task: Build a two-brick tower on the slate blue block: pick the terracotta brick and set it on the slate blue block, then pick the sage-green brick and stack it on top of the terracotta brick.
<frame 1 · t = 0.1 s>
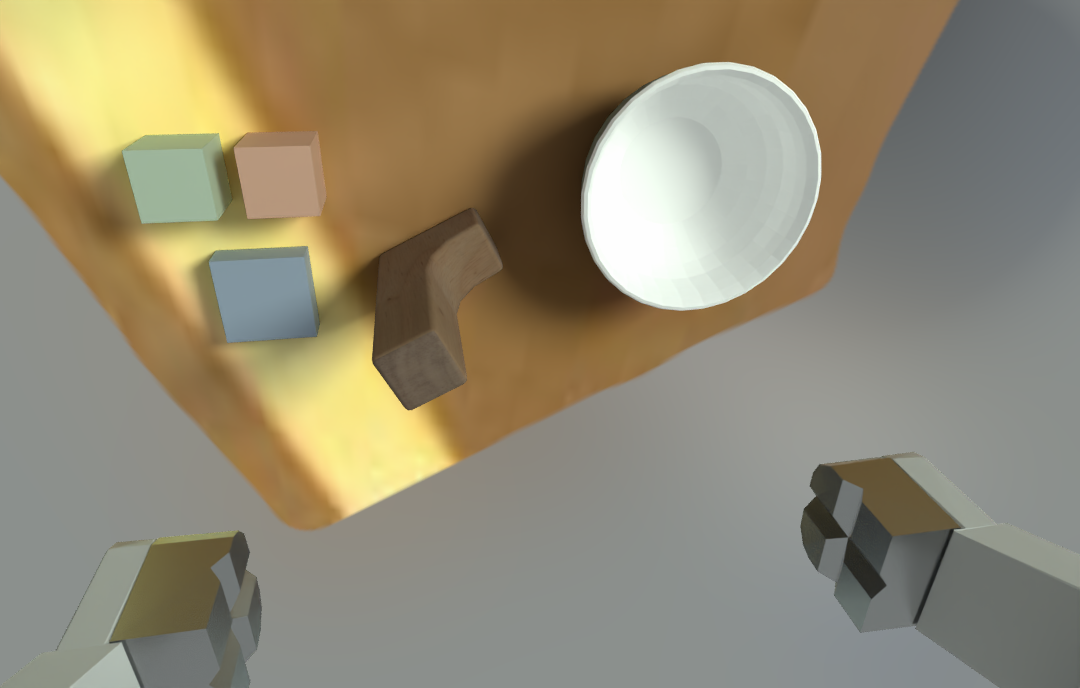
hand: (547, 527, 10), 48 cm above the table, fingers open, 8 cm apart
wooden block: (438, 251, 58), on the table
slate blue block: (269, 288, 57), on the table
terracotta brick: (288, 165, 53), on the table
sage brick: (190, 168, 51), on the table
bowl: (666, 169, 58), on the table
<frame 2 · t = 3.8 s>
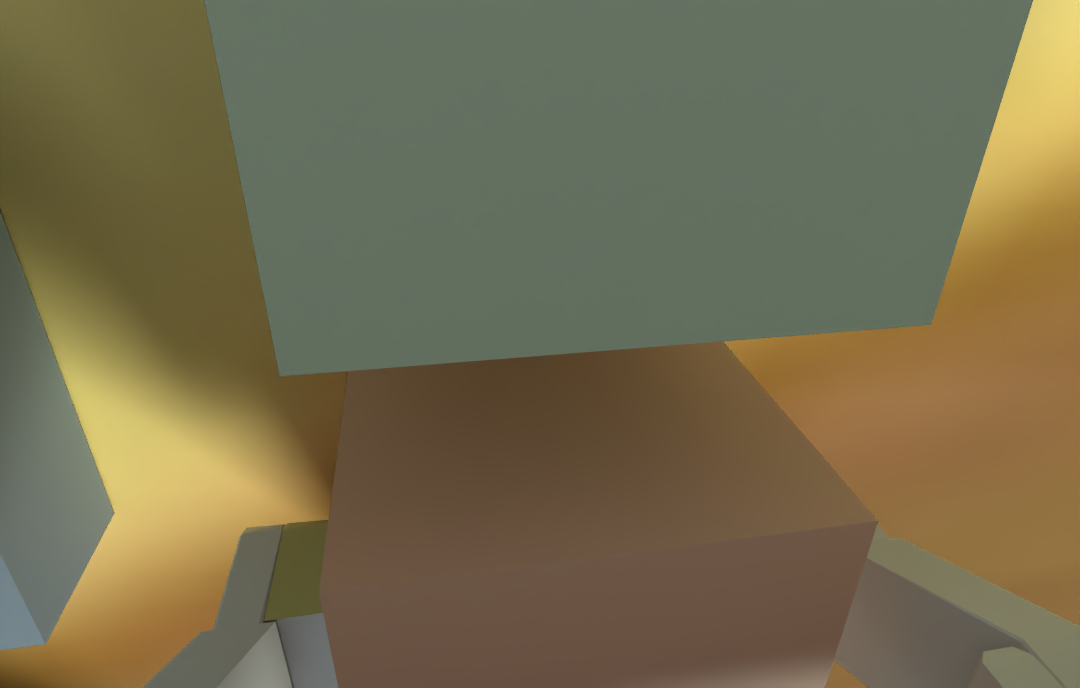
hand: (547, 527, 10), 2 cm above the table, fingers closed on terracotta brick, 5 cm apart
terracotta brick: (526, 443, 11), on the table, touching gripper
when the fingers open (5 cm above the table, at t = 8.5 s): terracotta brick stays where it is, resting on slate blue block.
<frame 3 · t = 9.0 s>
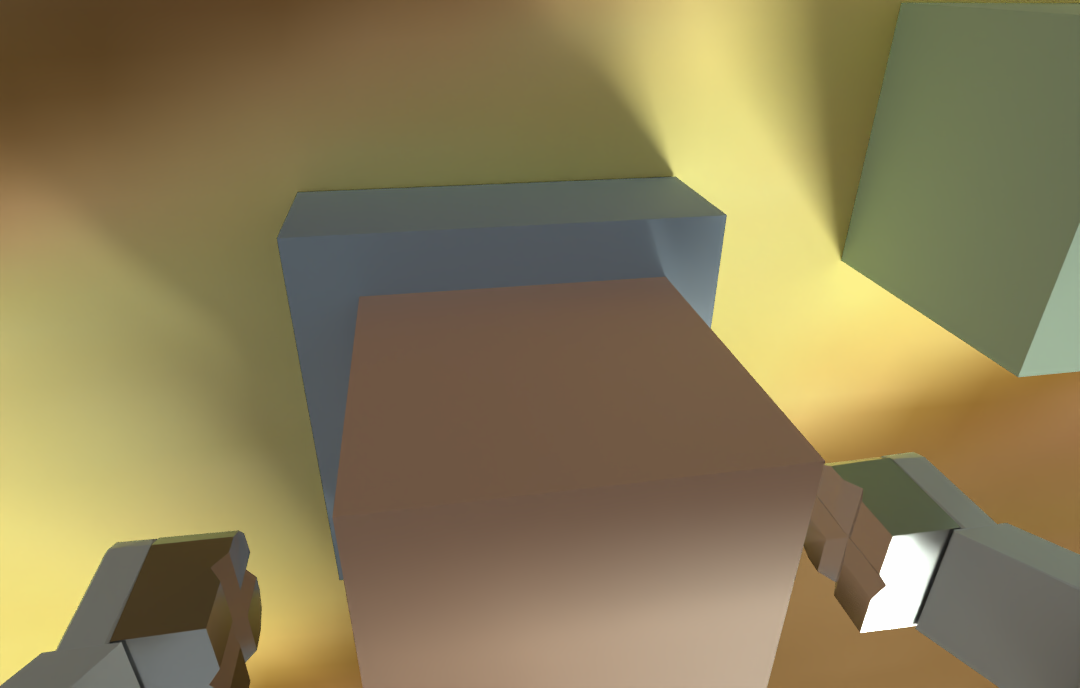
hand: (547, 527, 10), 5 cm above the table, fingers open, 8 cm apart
slate blue block: (498, 349, 14), on the table
terracotta brick: (518, 414, 12), point 2 cm above the table, touching slate blue block
sage brick: (976, 138, 14), on the table
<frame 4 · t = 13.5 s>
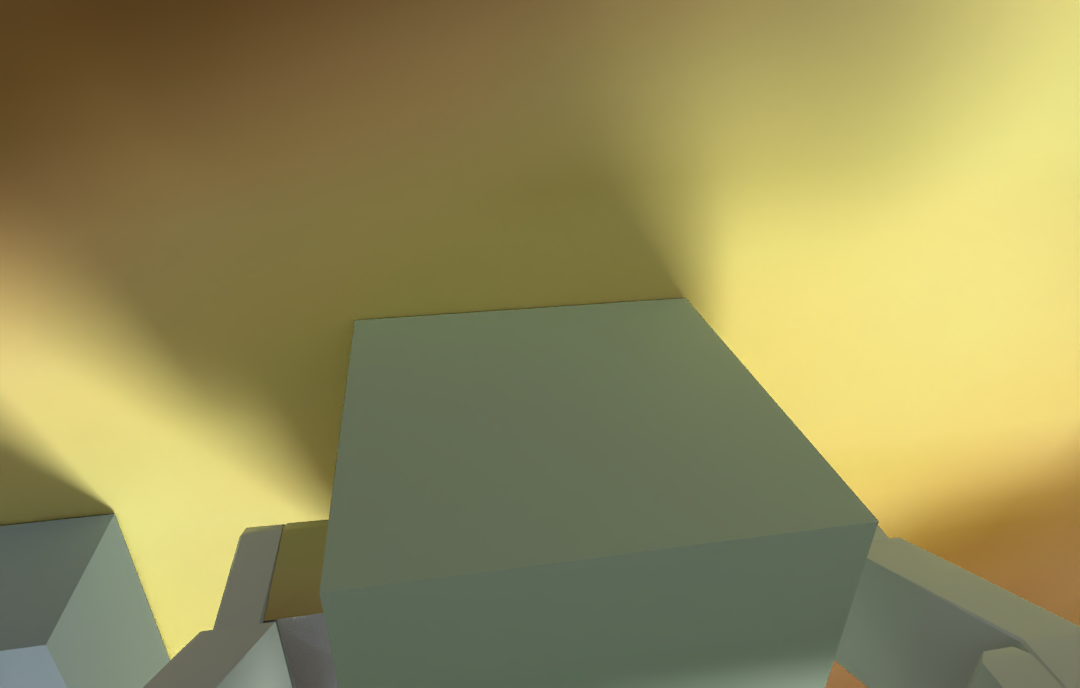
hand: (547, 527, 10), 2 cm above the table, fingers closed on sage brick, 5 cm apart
sage brick: (526, 444, 11), on the table, touching gripper
when the fingers open (10 cm above the table, at t = 18.8 s): sage brick stays where it is, resting on terracotta brick.
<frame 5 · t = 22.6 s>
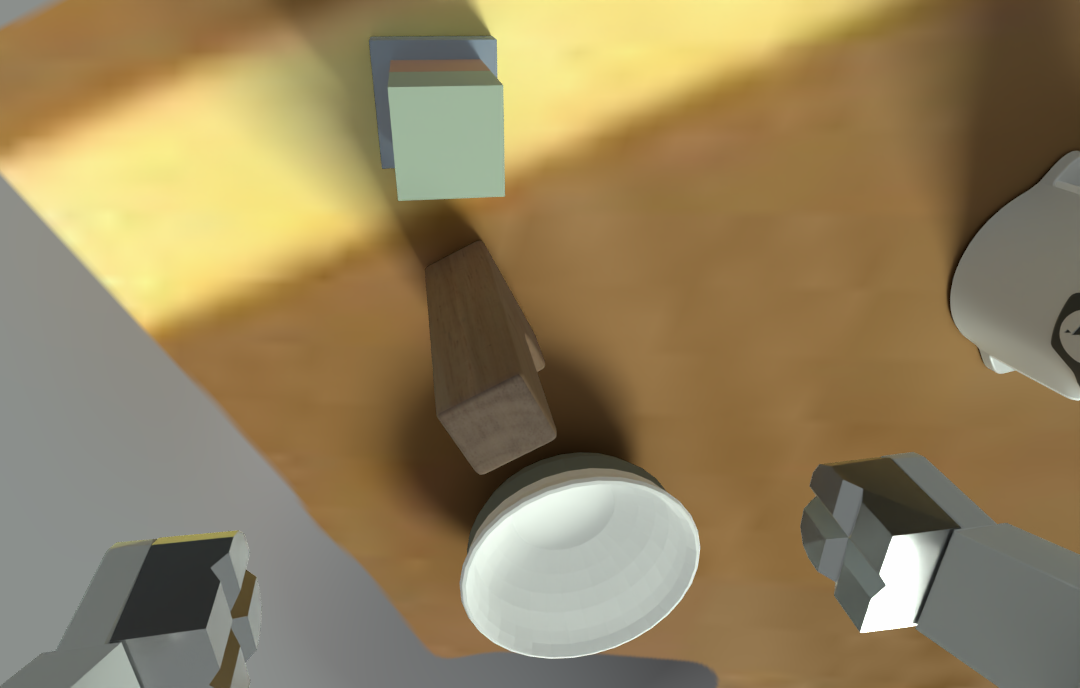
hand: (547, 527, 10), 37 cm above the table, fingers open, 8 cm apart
wooden block: (481, 302, 49), on the table
slate blue block: (435, 99, 42), on the table
terracotta brick: (438, 106, 40), point 2 cm above the table, touching slate blue block, sage brick
sage brick: (443, 123, 36), point 7 cm above the table, touching terracotta brick
bowl: (561, 502, 59), on the table
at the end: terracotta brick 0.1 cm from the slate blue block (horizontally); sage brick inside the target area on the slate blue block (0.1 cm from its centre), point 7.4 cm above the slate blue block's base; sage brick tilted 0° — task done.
